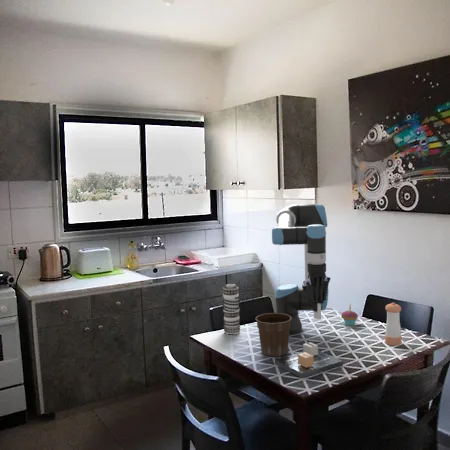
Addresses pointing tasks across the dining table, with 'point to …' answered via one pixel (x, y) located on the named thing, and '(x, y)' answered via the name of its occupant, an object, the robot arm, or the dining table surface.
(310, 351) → the fader
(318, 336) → the dining table surface
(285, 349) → the plant pot
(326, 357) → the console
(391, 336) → the pepper shaker
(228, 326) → the decorative candle
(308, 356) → the fader
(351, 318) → the cupcake
